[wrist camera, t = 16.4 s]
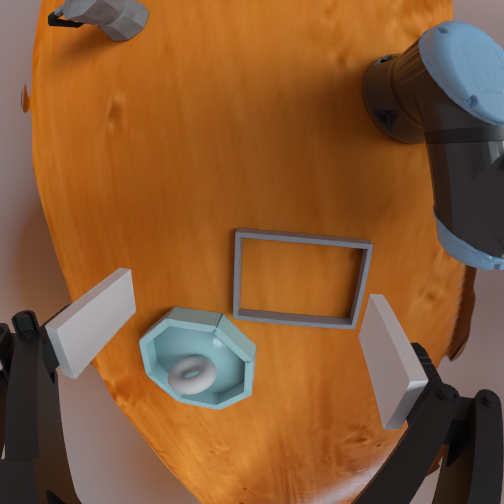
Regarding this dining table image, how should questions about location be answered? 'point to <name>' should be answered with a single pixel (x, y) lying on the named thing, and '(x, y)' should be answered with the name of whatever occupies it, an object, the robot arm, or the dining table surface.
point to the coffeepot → (103, 16)
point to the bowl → (201, 354)
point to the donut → (196, 382)
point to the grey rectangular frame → (298, 318)
